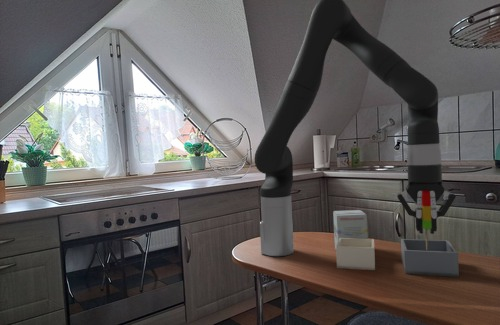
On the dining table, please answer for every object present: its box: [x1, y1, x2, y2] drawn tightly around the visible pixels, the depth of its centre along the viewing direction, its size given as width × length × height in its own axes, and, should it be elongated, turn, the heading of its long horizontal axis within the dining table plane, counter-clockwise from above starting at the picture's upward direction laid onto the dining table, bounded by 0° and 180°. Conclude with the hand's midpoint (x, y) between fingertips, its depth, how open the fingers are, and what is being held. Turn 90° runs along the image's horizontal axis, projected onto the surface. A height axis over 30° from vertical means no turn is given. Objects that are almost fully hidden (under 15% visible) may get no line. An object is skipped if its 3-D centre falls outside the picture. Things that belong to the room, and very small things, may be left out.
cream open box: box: [335, 238, 376, 271], centre depth 93 cm, size 9×9×6 cm
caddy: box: [400, 238, 460, 278], centre depth 88 cm, size 11×11×6 cm
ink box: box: [332, 209, 369, 250], centre depth 104 cm, size 9×9×12 cm
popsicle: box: [421, 190, 432, 250], centre depth 88 cm, size 6×2×15 cm, turn 161°
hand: (426, 232), depth 88 cm, fingers closed on popsicle, 2 cm apart
